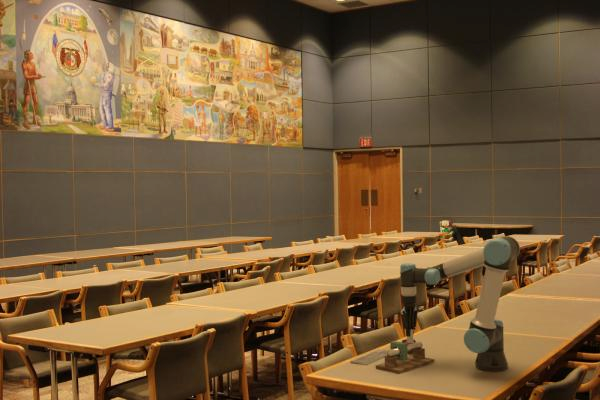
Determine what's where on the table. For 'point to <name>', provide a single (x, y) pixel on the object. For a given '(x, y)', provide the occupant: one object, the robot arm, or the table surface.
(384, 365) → the pipe stand
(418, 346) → the steel pipe
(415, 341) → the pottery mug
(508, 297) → the table surface
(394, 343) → the collar
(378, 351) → the keyboard
